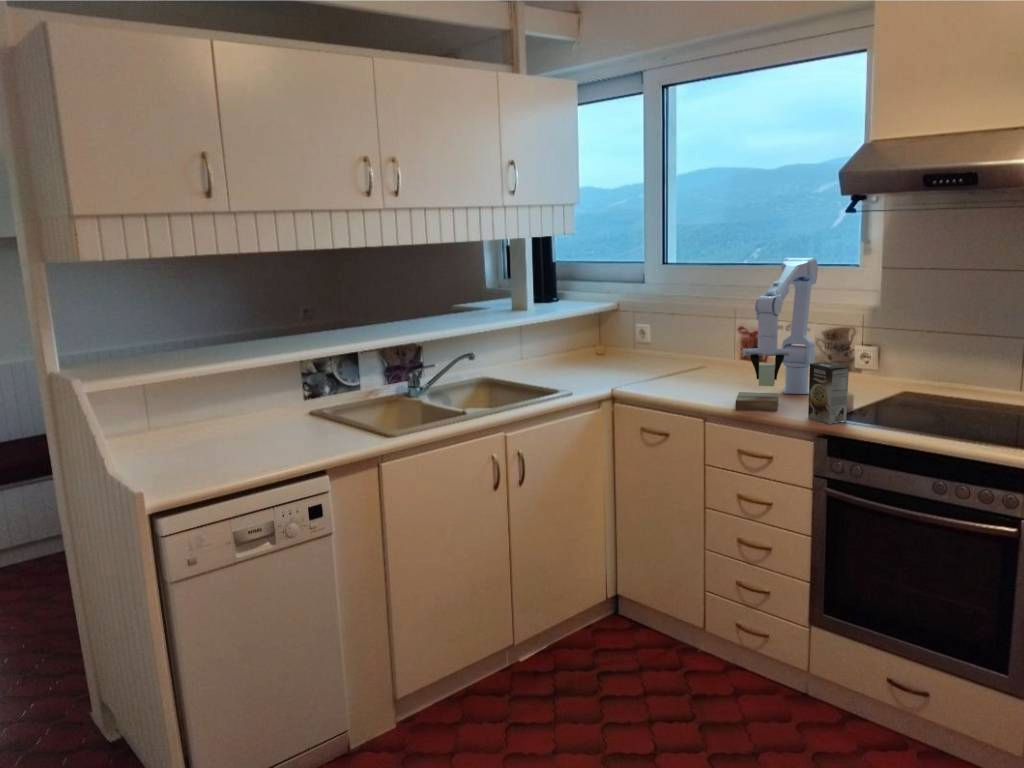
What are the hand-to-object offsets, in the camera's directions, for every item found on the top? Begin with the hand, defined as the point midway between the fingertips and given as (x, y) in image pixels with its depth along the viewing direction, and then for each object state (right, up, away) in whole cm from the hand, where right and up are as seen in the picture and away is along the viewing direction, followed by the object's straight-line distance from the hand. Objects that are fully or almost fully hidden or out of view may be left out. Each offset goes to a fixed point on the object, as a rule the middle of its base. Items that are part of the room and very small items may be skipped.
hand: (766, 379), depth 252 cm
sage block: (0, -2, 0) cm, 2 cm away
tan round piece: (+21, -9, -8) cm, 24 cm away
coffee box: (+12, -12, -18) cm, 25 cm away
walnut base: (-2, -8, +2) cm, 9 cm away
